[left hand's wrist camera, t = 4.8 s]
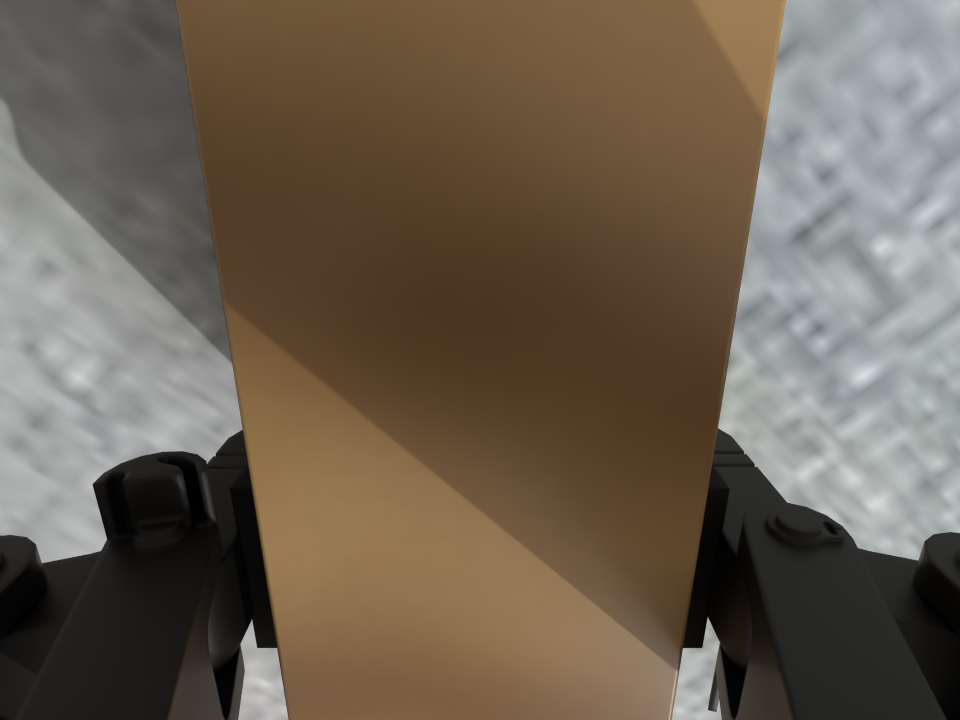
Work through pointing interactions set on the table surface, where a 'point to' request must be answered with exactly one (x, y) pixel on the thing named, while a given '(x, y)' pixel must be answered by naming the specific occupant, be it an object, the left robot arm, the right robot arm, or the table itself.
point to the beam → (480, 332)
